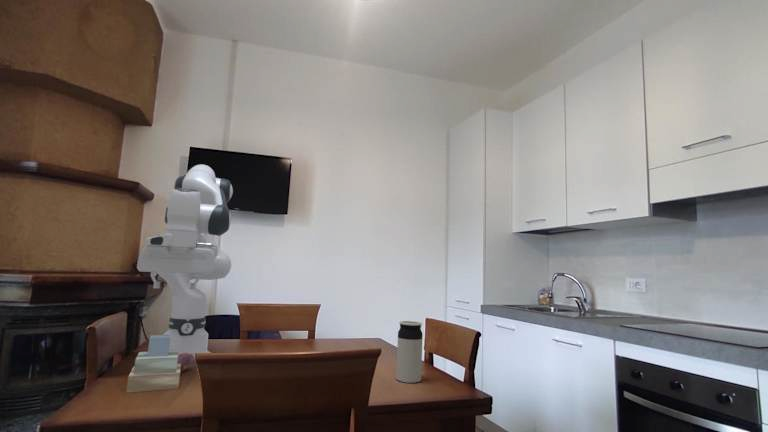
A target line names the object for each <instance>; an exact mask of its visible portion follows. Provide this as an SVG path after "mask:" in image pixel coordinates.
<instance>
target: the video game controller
mask: <svg viewBox="0 0 768 432" xmlns="http://www.w3.org/2000/svg"><path fill="white" fill-rule="evenodd" d="M194 361H195V360H194V356H193V354H190V353H181V354H179V355H178V361H177V363H181V367H180V372H184V371H185V370H186V369H187V368H188V367H189V366H190V365H192V364H193V362H194Z"/></svg>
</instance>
